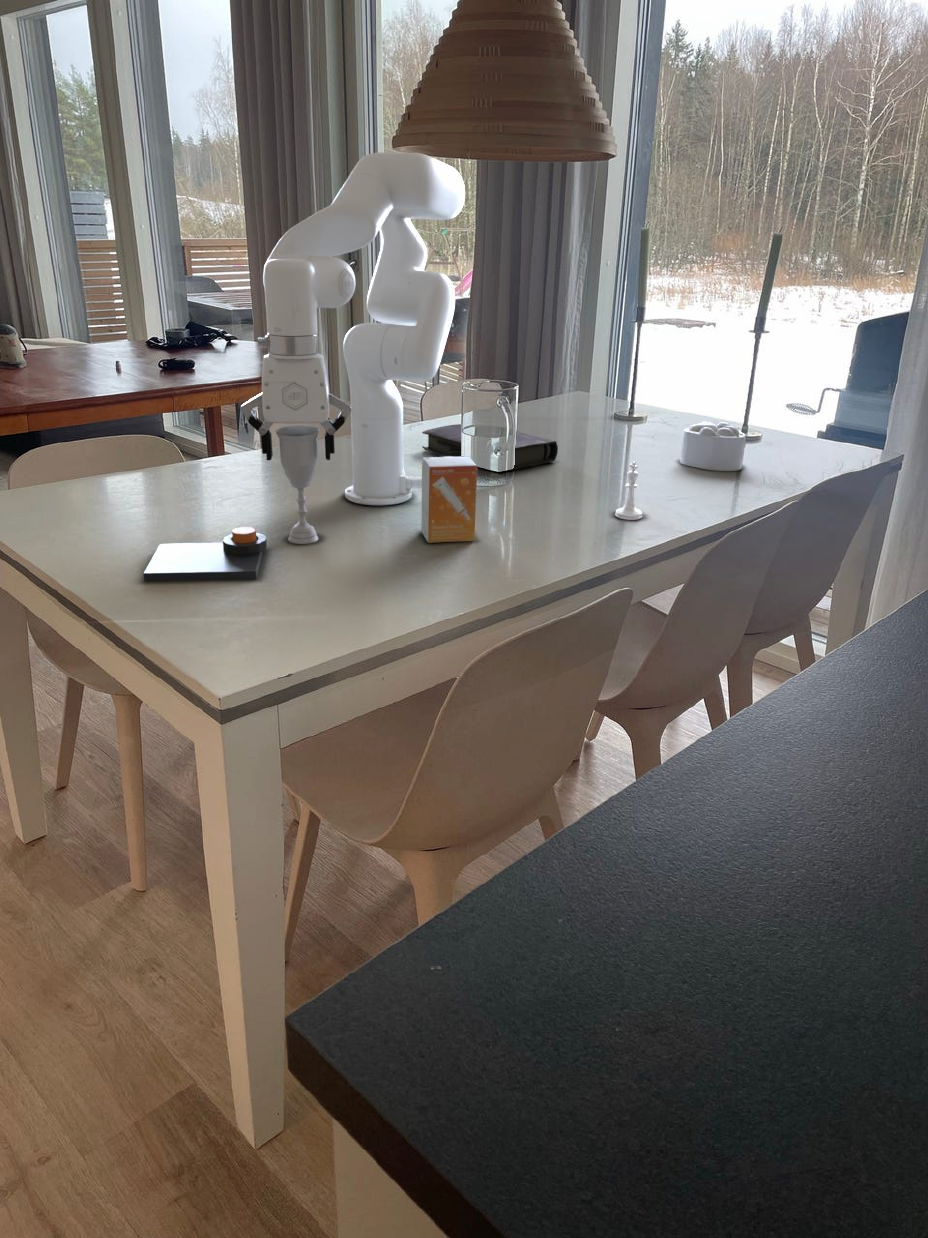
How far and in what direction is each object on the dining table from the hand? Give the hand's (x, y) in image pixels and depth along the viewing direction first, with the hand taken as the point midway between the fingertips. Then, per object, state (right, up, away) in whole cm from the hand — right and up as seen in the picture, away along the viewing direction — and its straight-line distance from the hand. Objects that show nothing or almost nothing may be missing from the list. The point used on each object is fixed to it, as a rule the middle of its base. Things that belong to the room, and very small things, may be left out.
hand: (299, 457), depth 148 cm
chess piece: (+56, -7, +21) cm, 60 cm away
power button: (-8, -14, -4) cm, 16 cm away
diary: (+32, +10, +59) cm, 68 cm away
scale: (-13, -18, -6) cm, 23 cm away
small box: (+24, -12, +8) cm, 28 cm away
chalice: (0, -13, +6) cm, 14 cm away
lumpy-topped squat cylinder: (+81, +8, +57) cm, 99 cm away
